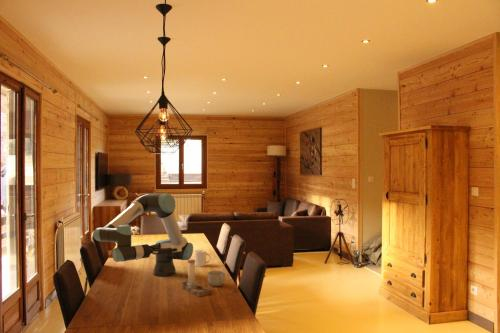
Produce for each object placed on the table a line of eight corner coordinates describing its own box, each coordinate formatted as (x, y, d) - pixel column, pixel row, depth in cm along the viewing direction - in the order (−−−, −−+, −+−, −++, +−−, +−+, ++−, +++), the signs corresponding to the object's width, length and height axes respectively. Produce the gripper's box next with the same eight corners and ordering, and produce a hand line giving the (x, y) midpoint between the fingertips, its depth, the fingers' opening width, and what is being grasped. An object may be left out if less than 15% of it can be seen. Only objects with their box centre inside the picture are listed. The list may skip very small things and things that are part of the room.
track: (182, 288, 255) (182, 281, 255) (193, 286, 260) (193, 279, 260) (198, 296, 239) (198, 289, 239) (210, 293, 244) (210, 286, 244)
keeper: (185, 286, 255) (185, 260, 255) (192, 285, 258) (192, 258, 258) (190, 288, 250) (190, 261, 250) (197, 287, 253) (197, 260, 253)
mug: (210, 266, 311) (210, 252, 311) (194, 267, 310) (194, 252, 310) (210, 263, 320) (210, 249, 320) (194, 264, 319) (194, 250, 319)
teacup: (206, 283, 266) (206, 270, 266) (222, 281, 269) (222, 269, 269) (212, 289, 252) (211, 276, 252) (229, 287, 256) (229, 274, 256)
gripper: (133, 254, 246) (166, 249, 258) (150, 262, 226) (186, 256, 238) (133, 241, 246) (166, 237, 258) (150, 248, 226) (186, 243, 238)
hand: (176, 246), depth 248 cm, fingers open, 13 cm apart
